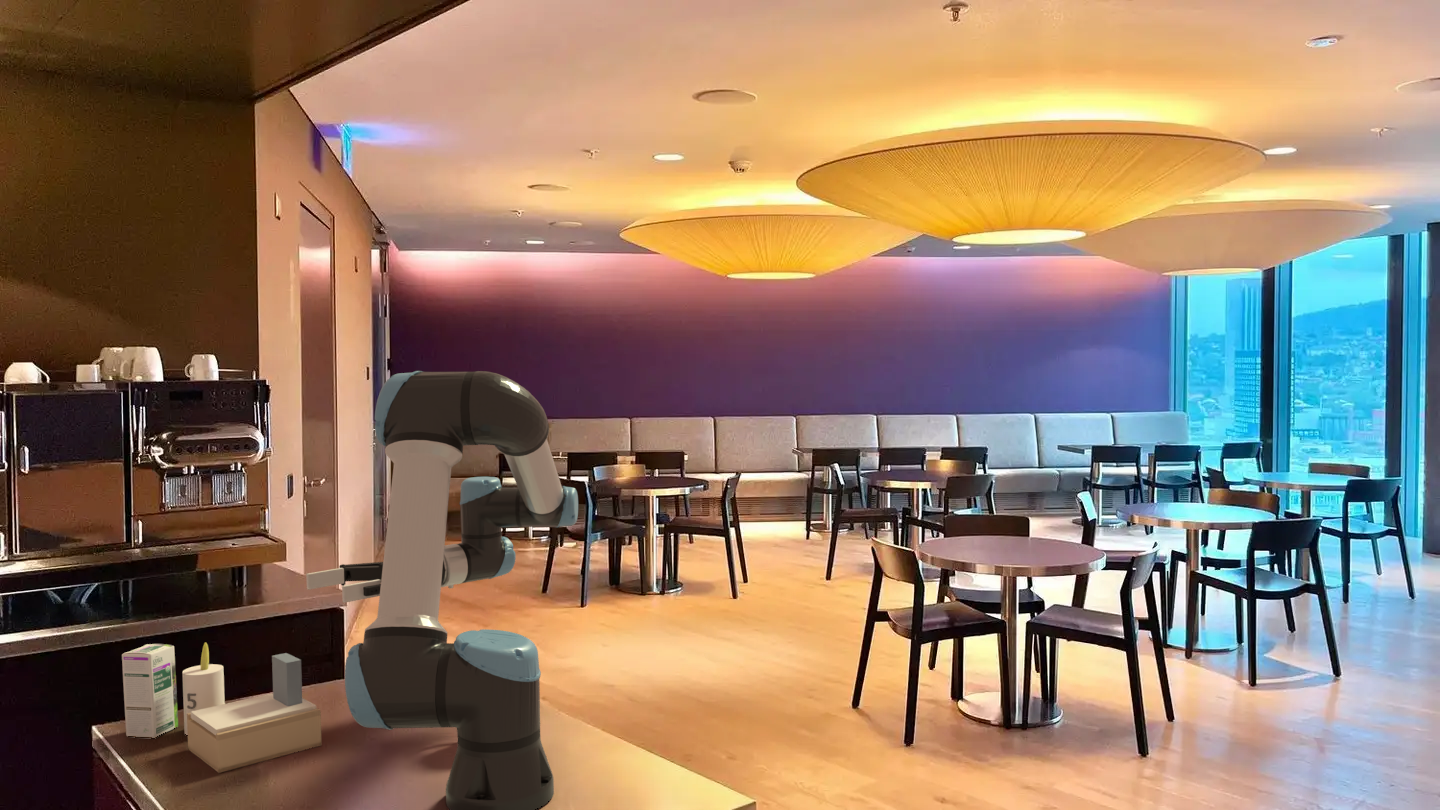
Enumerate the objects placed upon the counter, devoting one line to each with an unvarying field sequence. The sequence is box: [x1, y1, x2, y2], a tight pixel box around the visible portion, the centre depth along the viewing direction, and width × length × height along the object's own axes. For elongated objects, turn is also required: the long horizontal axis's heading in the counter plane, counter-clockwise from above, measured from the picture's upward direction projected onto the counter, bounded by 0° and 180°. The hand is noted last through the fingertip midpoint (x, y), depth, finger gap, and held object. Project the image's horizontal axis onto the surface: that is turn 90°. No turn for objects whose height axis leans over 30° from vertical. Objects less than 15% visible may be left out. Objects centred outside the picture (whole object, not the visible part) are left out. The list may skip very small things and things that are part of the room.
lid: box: [190, 652, 317, 735], centre depth 171 cm, size 16×12×8 cm
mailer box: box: [187, 708, 322, 774], centre depth 172 cm, size 16×14×6 cm
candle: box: [181, 642, 226, 736], centre depth 180 cm, size 6×6×15 cm
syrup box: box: [121, 643, 179, 739], centre depth 179 cm, size 6×6×14 cm
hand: (324, 587), depth 179 cm, fingers open, 13 cm apart
